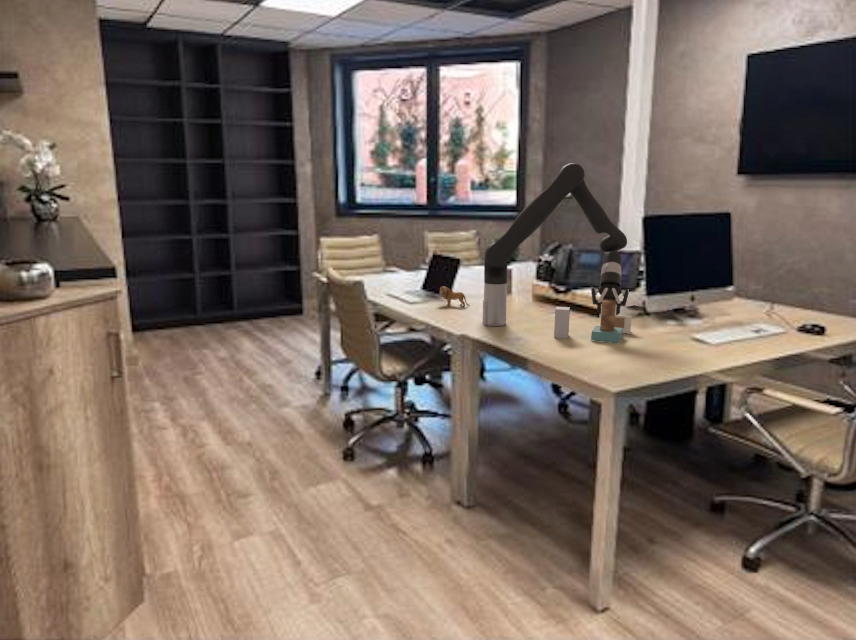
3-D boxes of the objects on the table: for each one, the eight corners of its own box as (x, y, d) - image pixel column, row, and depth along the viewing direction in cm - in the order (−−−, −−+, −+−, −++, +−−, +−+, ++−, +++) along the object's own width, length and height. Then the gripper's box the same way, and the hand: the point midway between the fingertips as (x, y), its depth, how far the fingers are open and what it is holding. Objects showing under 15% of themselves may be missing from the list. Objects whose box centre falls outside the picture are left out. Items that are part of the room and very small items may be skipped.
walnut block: (600, 330, 239) (602, 301, 237) (600, 327, 244) (602, 299, 242) (613, 331, 238) (616, 302, 235) (614, 328, 243) (616, 299, 240)
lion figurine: (437, 305, 302) (438, 287, 300) (441, 303, 307) (441, 285, 305) (468, 307, 297) (468, 288, 295) (471, 305, 302) (471, 286, 300)
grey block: (554, 337, 244) (555, 309, 241) (555, 334, 249) (556, 306, 246) (567, 338, 242) (568, 309, 240) (568, 335, 247) (569, 307, 245)
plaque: (606, 332, 252) (607, 315, 250) (606, 329, 255) (607, 313, 254) (630, 333, 249) (631, 317, 248) (630, 331, 253) (631, 315, 251)
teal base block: (591, 341, 239) (591, 331, 238) (595, 335, 248) (595, 325, 247) (618, 344, 235) (619, 333, 234) (622, 338, 244) (622, 327, 243)
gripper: (591, 270, 245) (588, 306, 237) (631, 271, 241) (629, 309, 233) (591, 281, 251) (588, 317, 243) (630, 283, 247) (628, 320, 239)
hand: (608, 313), depth 238 cm, fingers open, 5 cm apart
